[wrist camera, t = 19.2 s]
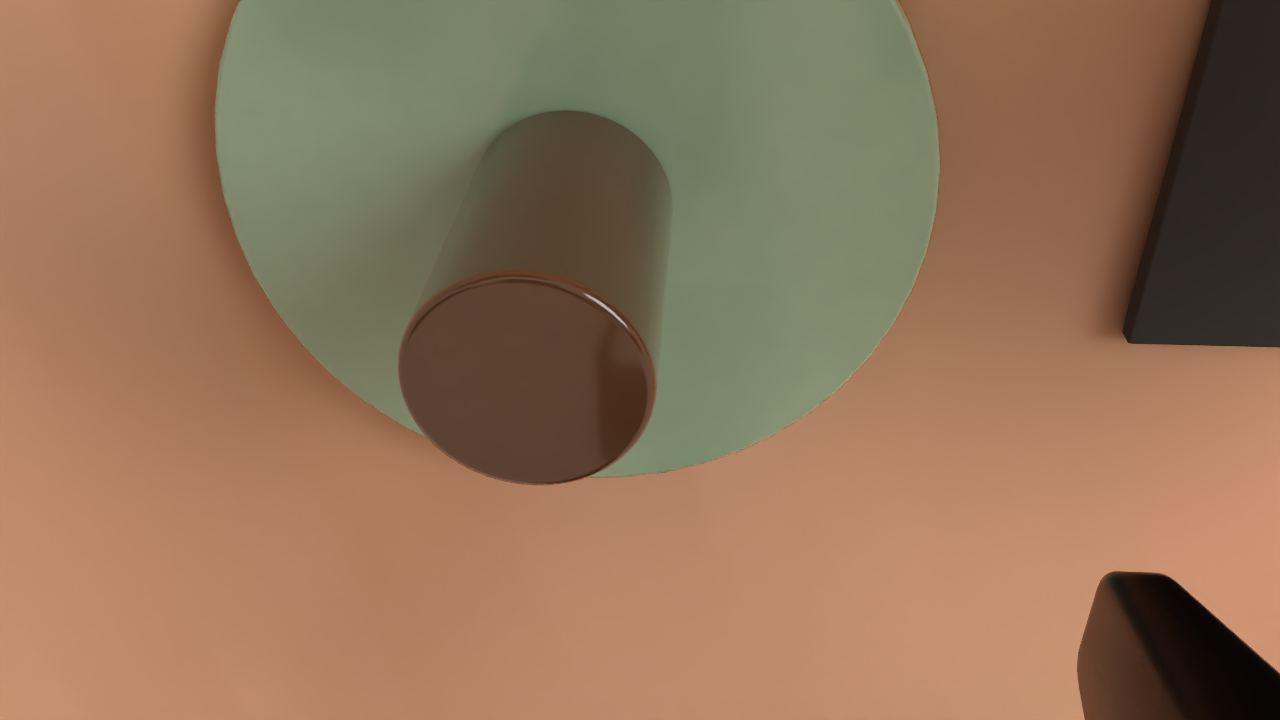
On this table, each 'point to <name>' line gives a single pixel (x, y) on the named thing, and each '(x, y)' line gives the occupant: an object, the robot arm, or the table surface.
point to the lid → (581, 212)
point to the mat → (1219, 195)
